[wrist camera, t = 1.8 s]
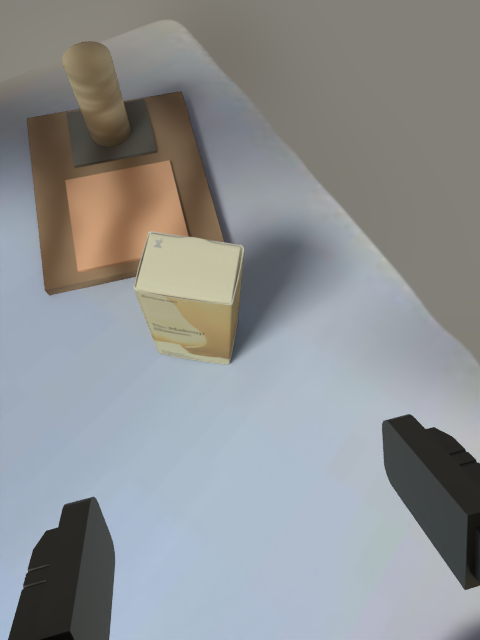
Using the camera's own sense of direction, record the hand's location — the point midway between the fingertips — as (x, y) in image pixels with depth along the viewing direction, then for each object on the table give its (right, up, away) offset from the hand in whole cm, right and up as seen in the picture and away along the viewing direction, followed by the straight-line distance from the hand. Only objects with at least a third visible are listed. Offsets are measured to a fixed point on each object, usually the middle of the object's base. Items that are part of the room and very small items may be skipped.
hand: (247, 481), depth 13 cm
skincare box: (-4, +3, +27) cm, 27 cm away
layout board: (-12, +17, +32) cm, 38 cm away
